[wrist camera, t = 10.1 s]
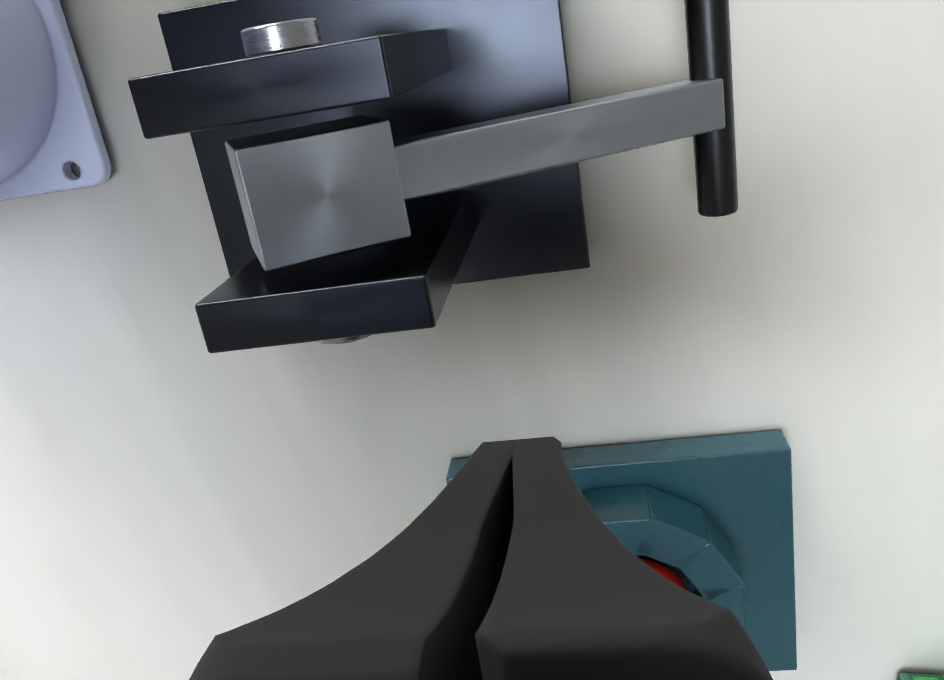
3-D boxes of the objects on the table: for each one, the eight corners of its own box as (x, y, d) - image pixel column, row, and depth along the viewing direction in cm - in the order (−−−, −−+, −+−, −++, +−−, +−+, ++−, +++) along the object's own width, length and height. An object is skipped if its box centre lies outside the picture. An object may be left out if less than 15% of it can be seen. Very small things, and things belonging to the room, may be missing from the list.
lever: (690, -15, 18) (759, -29, 16) (704, 201, 20) (768, 215, 18) (204, 67, 16) (210, 64, 13) (269, 311, 17) (283, 343, 15)
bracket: (553, -57, 20) (545, -106, 12) (589, 255, 23) (601, 388, 15) (177, 13, 22) (-57, 13, 14) (253, 298, 24) (97, 438, 16)
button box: (489, 658, 29) (481, 727, 26) (450, 458, 26) (436, 512, 23) (787, 643, 27) (813, 715, 24) (780, 428, 24) (809, 482, 21)
